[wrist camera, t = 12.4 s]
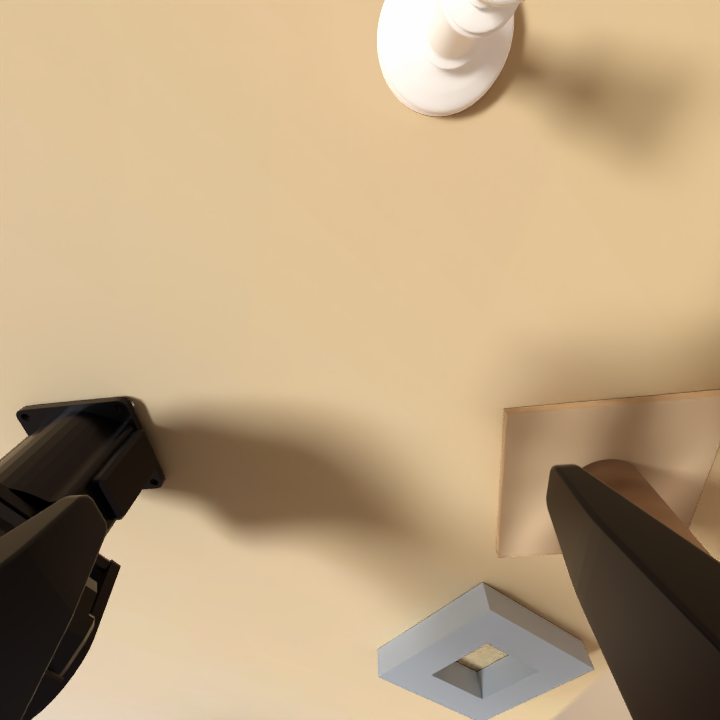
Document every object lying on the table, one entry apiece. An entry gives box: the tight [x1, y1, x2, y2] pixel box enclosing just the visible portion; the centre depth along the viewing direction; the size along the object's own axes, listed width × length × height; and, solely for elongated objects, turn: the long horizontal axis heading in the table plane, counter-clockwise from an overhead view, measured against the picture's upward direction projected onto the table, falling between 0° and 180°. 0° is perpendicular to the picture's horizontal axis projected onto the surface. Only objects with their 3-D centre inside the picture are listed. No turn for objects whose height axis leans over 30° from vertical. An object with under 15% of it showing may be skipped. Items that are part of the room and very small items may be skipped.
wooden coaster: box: [496, 390, 720, 558], centre depth 25 cm, size 12×12×1 cm
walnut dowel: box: [582, 459, 712, 557], centre depth 19 cm, size 4×4×13 cm
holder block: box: [378, 582, 594, 720], centre depth 33 cm, size 12×12×2 cm
